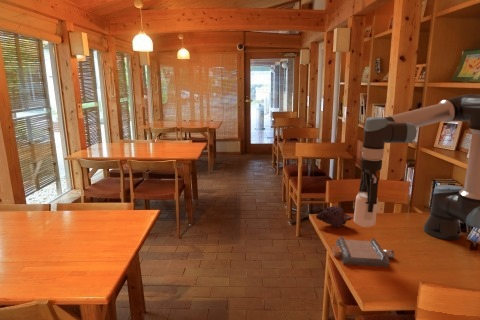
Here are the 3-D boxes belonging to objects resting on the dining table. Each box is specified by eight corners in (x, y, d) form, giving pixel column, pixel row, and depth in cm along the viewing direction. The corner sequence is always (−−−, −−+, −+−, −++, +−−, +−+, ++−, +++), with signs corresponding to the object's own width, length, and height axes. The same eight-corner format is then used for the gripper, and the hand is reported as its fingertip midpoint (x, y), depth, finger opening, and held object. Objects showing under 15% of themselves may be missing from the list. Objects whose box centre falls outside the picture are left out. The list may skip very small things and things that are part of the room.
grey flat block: (386, 248, 142) (387, 238, 141) (399, 267, 128) (400, 257, 127) (330, 245, 144) (330, 235, 143) (336, 263, 130) (337, 253, 129)
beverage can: (376, 229, 128) (380, 199, 125) (354, 226, 130) (357, 197, 127) (373, 220, 136) (376, 192, 133) (352, 218, 138) (355, 190, 135)
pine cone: (317, 229, 159) (318, 209, 157) (313, 221, 169) (314, 202, 166) (354, 230, 159) (356, 211, 156) (348, 222, 168) (350, 203, 166)
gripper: (355, 152, 137) (349, 204, 142) (369, 164, 117) (362, 225, 122) (373, 153, 136) (367, 205, 142) (391, 165, 116) (383, 226, 122)
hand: (365, 214), depth 132 cm, fingers closed on beverage can, 8 cm apart
